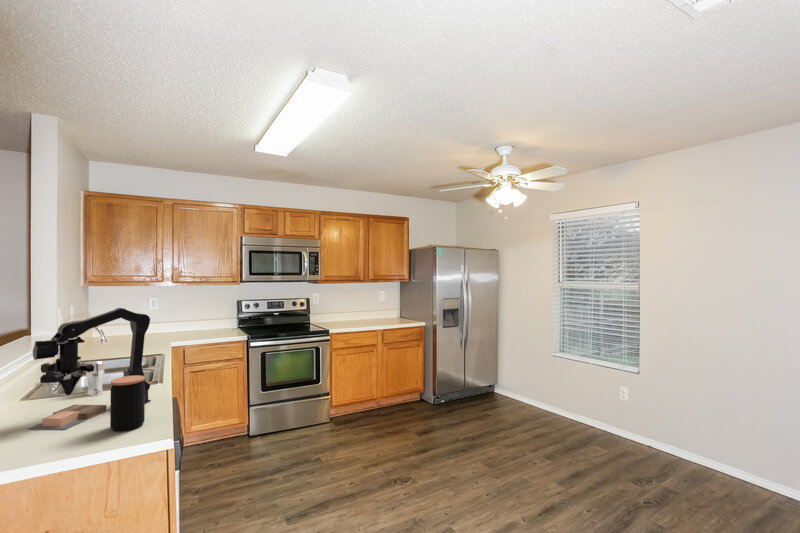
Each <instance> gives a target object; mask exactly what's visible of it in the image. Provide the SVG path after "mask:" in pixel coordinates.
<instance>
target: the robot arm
mask: <svg viewBox="0 0 800 533" xmlns="http://www.w3.org/2000/svg"><path fill="white" fill-rule="evenodd" d="M119 319H122V320H125V321H127V322H129V324H130V325H129V326H130V330H131V333H132V339H131V346H130V347H131V348H130V359H129V366H128V368H127V370H123V371H122V373H123V376H122V377H125V376H135V375H138V376H144V377H145V374H144V369H143V358H144V346H145V336H146V333H147V331H148V329H149V328H150V324H151V318H150V316H149V315H147V314H144V313H139V312H137V313H136V312H134V311H132V310H131V311H130V310H129V309H126V308H123V307H116V308H115V309H113V310H110V311H107V312H103V313H101V314H98V315H96V316H92V317H89V318H87V319H82V320H75V321H70V322H64V323H62V324H60V325H59V327H58V328H57V332H56V333H55V335H54V336H53V337H52V338H51V339H50V340H49V339H48V340H36V341H34V345H33V348H32V357H33V361H37V360H42V359H43V360H45V359H50V358H55V357H56V356H57V355H59V357H58V358H56V360H55V362H54V363H51V364H50V363H49V362H47V363H43V364H41V365H40V371H41V373H42V375H41V376H40V377H39V378H40V381H39V383H40V384H57V383H59V384H60V385H61V387H62V390H64V391H63V392H64V393H65V395H66V396H70V395H72V392H73V391H74V390H75V388H76V385H77V384H78V383H79V381H80V380H81V378H82V377H83V374H80V373H81V372H86V371H87V372H92V371H94V366H93V365H92V364H87V363H81V364H79V360H81V358H82V356H79V344H81V343H82V344H83V343H85V340H84V339H82V337H80V336H81V335H82V334H85V333H86V332H87V331H89V330H92V329H94V328H96V327H99V326H102V325H105V324H107V323H111V322H113V321H115V320H119ZM145 380H146V379H144V381H143V382H144V383H145V404H147V403H149V402H151V399H149V390H150V388H151V384H150V383H148V382H147V381H145Z"/></svg>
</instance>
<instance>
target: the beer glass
mask: <svg viewBox="0 0 800 533" xmlns="http://www.w3.org/2000/svg"><path fill="white" fill-rule="evenodd" d="M86 364H92V365H93V366H94V371H92V372H87V371H85V373H86V374H85V376H86V382H87V388H88V389H87V393H86V394H87V396H88V397H94V396H95V397H97V396H101V395H103V394H104V389H103V381H104V378H105V361H104V360H99V361H98V360H97V361H89V362H87V363H86ZM102 393H103V394H102ZM100 394H101V395H100Z"/></svg>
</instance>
